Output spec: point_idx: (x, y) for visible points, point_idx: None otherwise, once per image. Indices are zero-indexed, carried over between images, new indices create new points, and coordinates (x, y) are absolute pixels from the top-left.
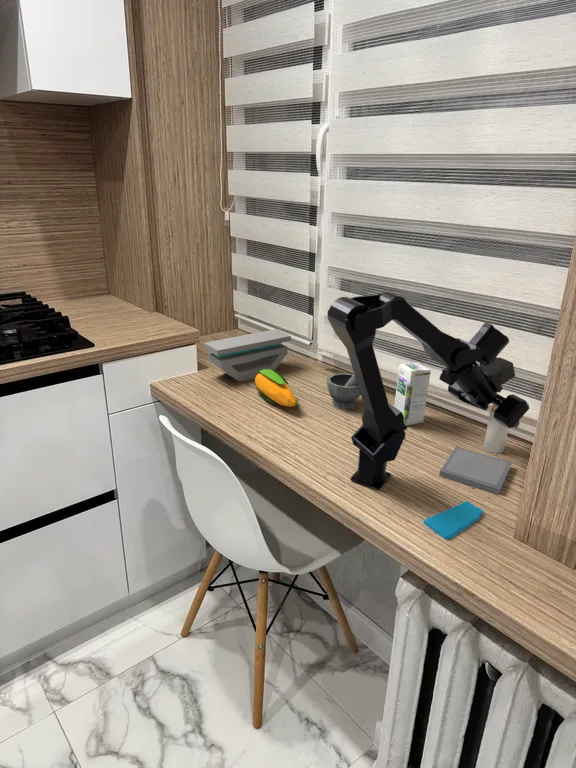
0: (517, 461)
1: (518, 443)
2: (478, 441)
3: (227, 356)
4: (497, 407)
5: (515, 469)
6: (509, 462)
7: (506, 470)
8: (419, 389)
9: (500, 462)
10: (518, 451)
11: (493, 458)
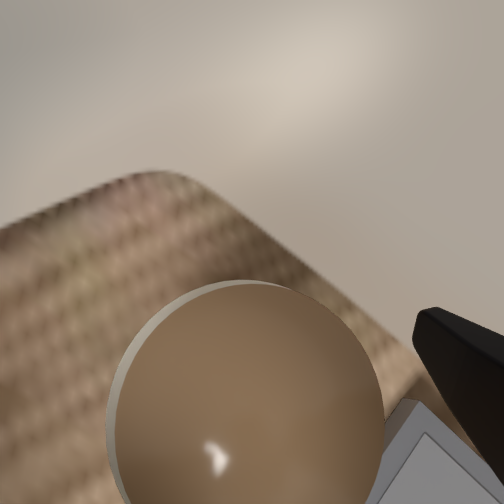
0: (349, 323)
1: (169, 197)
2: (93, 442)
3: None
4: (247, 493)
5: (420, 382)
6: (417, 414)
7: (493, 481)
8: None
9: (421, 476)
10: (253, 253)
11: (373, 496)
